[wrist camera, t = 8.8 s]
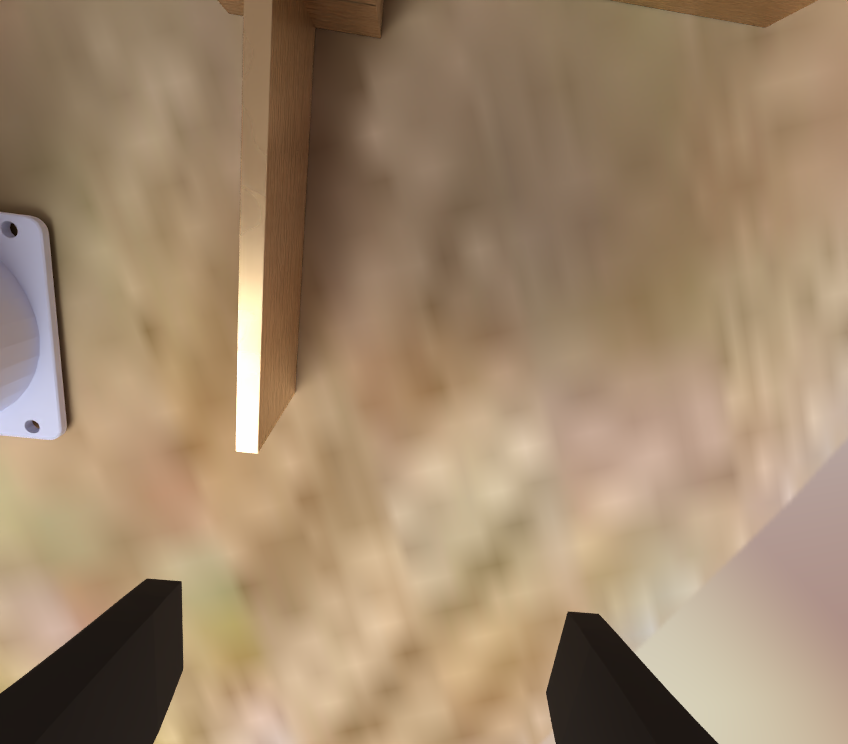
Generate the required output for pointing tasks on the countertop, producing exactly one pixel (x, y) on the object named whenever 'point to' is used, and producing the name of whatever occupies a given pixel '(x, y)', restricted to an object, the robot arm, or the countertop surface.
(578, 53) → the countertop surface
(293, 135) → the hinge leaves
